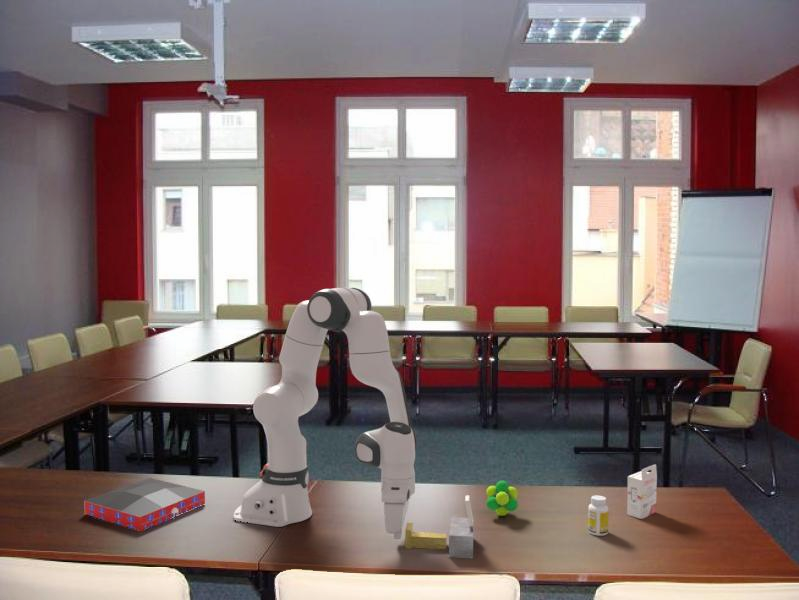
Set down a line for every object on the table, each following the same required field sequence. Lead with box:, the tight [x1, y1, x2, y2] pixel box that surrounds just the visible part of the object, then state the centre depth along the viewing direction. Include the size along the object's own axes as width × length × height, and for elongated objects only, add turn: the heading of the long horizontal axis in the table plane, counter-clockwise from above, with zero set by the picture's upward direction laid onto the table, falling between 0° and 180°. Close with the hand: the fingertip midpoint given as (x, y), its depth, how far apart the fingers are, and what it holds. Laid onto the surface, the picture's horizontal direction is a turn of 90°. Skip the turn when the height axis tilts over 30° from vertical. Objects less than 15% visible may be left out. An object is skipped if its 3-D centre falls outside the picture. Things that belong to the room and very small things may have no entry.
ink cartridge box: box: [626, 464, 658, 520], centre depth 209 cm, size 9×5×15 cm, turn 131°
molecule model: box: [485, 480, 519, 517], centre depth 207 cm, size 8×8×8 cm
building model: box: [83, 477, 206, 532], centre depth 210 cm, size 24×25×7 cm
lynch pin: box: [404, 522, 448, 550], centre depth 186 cm, size 10×5×5 cm, turn 83°
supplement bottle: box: [587, 494, 610, 537], centre depth 195 cm, size 5×5×10 cm
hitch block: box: [448, 516, 475, 560], centre depth 185 cm, size 6×12×6 cm, turn 173°
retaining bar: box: [464, 494, 475, 529], centre depth 184 cm, size 1×4×8 cm, turn 173°
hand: (397, 536), depth 187 cm, fingers closed
